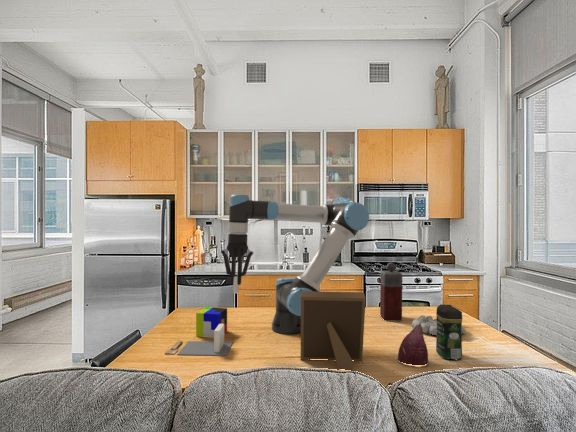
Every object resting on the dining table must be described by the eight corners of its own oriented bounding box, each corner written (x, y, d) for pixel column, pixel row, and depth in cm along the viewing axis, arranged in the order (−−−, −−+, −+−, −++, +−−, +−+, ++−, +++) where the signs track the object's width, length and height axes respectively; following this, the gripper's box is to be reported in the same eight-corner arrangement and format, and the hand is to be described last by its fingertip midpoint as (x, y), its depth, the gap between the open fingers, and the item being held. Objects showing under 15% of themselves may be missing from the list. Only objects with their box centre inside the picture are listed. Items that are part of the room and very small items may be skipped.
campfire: (423, 339, 155) (423, 325, 155) (405, 325, 176) (405, 312, 176) (474, 340, 156) (475, 326, 156) (450, 325, 177) (451, 313, 177)
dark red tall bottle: (396, 314, 193) (397, 261, 193) (402, 321, 182) (402, 264, 181) (379, 314, 193) (379, 260, 193) (383, 320, 182) (384, 263, 182)
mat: (232, 342, 149) (232, 341, 149) (226, 355, 135) (226, 355, 135) (188, 341, 150) (188, 341, 150) (177, 355, 136) (177, 354, 136)
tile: (224, 343, 147) (224, 323, 147) (219, 352, 138) (219, 330, 138) (218, 343, 147) (218, 323, 147) (213, 352, 138) (213, 330, 138)
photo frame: (300, 355, 136) (301, 287, 136) (360, 357, 135) (361, 288, 135) (300, 373, 121) (300, 297, 121) (367, 375, 120) (368, 298, 120)
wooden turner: (184, 343, 149) (184, 340, 149) (174, 355, 136) (174, 352, 136) (175, 342, 149) (175, 340, 149) (164, 354, 136) (164, 352, 136)
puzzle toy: (218, 338, 155) (218, 314, 155) (196, 336, 157) (196, 312, 157) (227, 330, 164) (227, 308, 164) (205, 329, 166) (206, 307, 166)
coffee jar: (433, 351, 142) (433, 302, 142) (453, 351, 142) (454, 303, 142) (442, 361, 132) (443, 309, 132) (465, 361, 132) (465, 309, 132)
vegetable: (420, 365, 136) (428, 324, 138) (431, 373, 126) (440, 329, 128) (392, 358, 136) (401, 317, 138) (401, 365, 126) (411, 321, 128)
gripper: (256, 233, 151) (253, 291, 150) (224, 232, 152) (222, 289, 152) (252, 234, 143) (250, 295, 143) (219, 233, 144) (217, 293, 144)
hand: (235, 292), depth 147 cm, fingers closed
